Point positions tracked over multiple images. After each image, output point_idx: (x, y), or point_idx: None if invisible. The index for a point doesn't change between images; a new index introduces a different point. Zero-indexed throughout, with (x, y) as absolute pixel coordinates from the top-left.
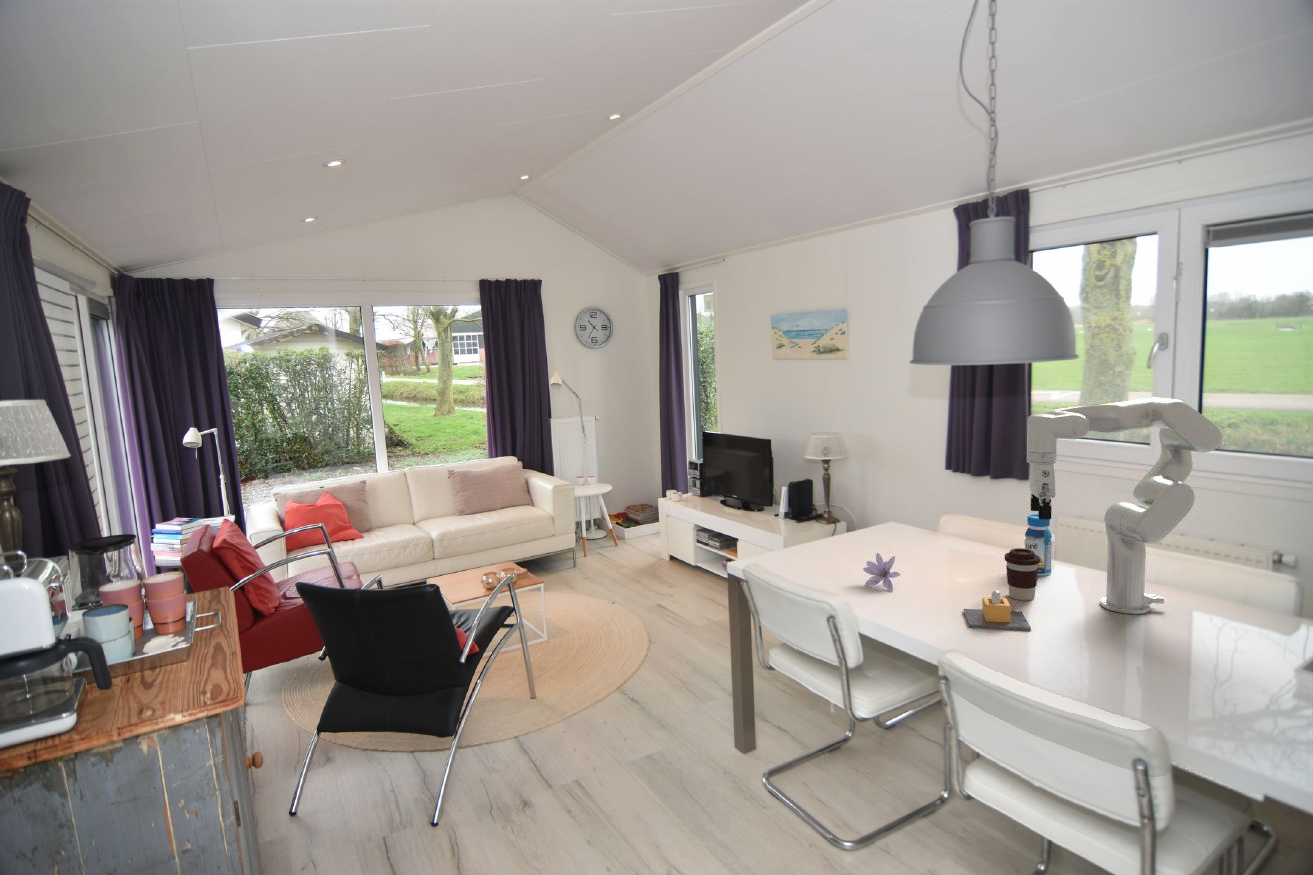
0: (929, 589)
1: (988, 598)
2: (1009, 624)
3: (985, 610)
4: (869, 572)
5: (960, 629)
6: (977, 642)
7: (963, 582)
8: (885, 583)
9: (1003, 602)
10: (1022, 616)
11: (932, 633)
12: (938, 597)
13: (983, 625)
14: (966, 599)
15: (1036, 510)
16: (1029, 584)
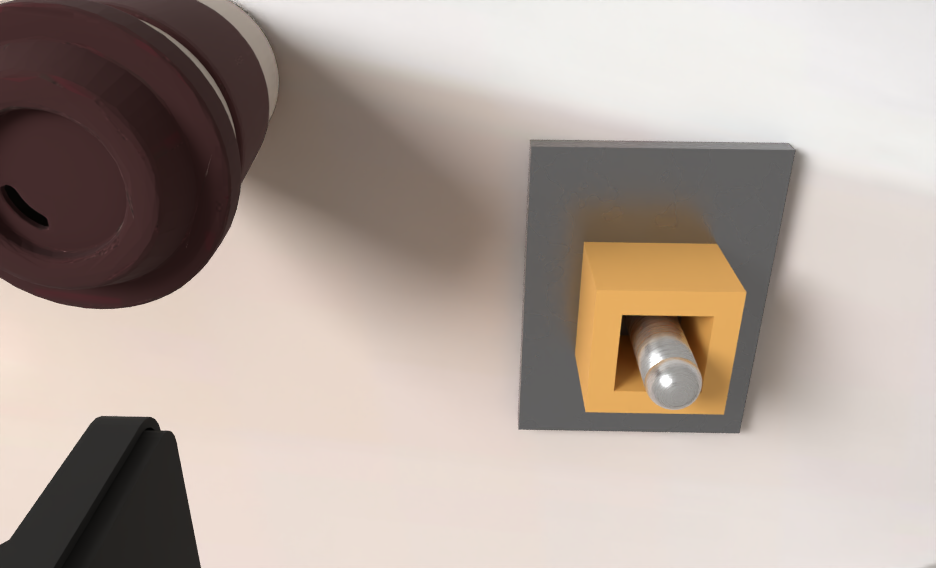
0: (204, 521)
1: (612, 386)
2: (746, 253)
3: None
4: None
5: (756, 458)
6: (919, 414)
7: (25, 358)
8: None
9: (659, 311)
10: (619, 159)
11: (798, 561)
12: (320, 496)
13: (749, 373)
14: (322, 381)
15: (194, 544)
16: (254, 70)
